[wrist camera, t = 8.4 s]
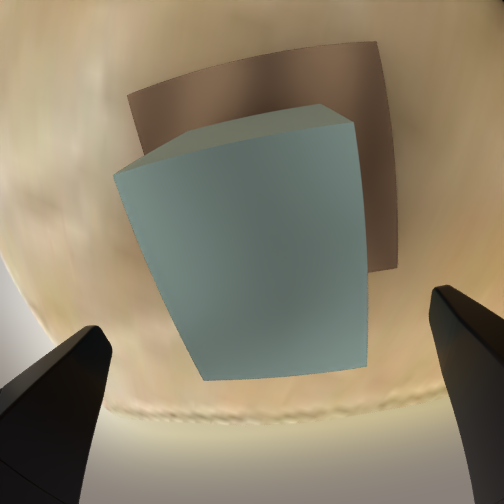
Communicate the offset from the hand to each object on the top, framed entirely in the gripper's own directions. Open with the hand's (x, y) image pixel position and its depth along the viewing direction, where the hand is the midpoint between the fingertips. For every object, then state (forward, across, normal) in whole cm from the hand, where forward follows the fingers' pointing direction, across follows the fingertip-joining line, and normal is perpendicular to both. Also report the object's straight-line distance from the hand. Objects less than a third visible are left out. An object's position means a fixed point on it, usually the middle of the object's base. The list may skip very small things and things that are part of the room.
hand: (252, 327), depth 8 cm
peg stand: (+13, 0, 0) cm, 13 cm away
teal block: (+8, 0, 0) cm, 9 cm away
